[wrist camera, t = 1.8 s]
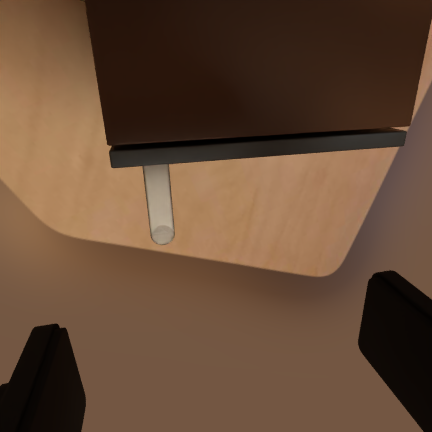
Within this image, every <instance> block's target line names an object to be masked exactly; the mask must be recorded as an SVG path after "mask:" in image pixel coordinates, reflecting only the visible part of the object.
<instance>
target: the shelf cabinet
mask: <svg viewBox="0 0 432 432" xmlns="http://www.w3.org/2000/svg"><path fill="white" fill-rule="evenodd" d="M85 7H86V13H87V19H88V26H89V32H90V38H91V45H92V51H93V57H94V64H95V70H96V76H97V83H98V89H99V95H100V102H101V108H102V114H103V121H104V127H105V133H106V140H107V145H109V146H112V145H127V144H143V143H158V142H174V141H189V140H204V139H220V138H235V137H251V136H266V135H282V134H297V133H313V132H328V131H344V130H359V129H375V128H390V127H406V126H410V125H411V120H412V115H413V110H414V105H415V100H416V95H417V90H418V84H419V79H420V74H421V69H422V64H423V59H424V54H425V49H426V44H427V39H428V34H429V29H430V24H431V19H432V0H85Z"/></svg>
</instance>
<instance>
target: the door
mask: <svg viewBox="0 0 432 432" xmlns="http://www.w3.org/2000/svg"><path fill="white" fill-rule="evenodd" d="M406 133H407V132H406V131H403V130H399V129H394V128H375V129H359V130H344V131H328V132H313V133H297V134H282V135H266V136H251V137H235V138H220V139H204V140H189V141H174V142H158V143H143V144H127V145H112V147H111V149H110V151H109V156H110V162H111V167H112V168H123V167H136V166H143V174H144V182H145V191H146V199H147V208H148V216H149V225H150V233H151V238H152V240H153V241H154V242H155V243H157V244H160V245H165V244H168V243H170V242H171V241H172V240H173V238H174V236H175V232H174V220H173V208H172V197H171V185H170V174H169V164H175V163H188V162H202V161H215V160H228V159H241V158H254V157H267V156H280V155H293V154H307V153H320V152H333V151H346V150H359V149H372V148H385V147H399V146H404V143H405V138H406Z"/></svg>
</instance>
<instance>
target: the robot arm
mask: <svg viewBox="0 0 432 432" xmlns="http://www.w3.org/2000/svg"><path fill="white" fill-rule="evenodd" d="M358 345H359V349H360V351H361V352H362V354H363V355H364V356H365V358H366V359H367V360H368V362H369V363H370V364H371V365H372V367H373V368H374V369H375V370H376V372H377V373H378V374H379V376H380V377H381V378H382V379H383V381H384V382H385V383H386V384H387V386H388V387H389V388H390V389H391V391H392V392H393V393H394V395H395V396H396V397H397V398H398V400H399V401H400V402H401V403H402V405H403V406H404V407H405V408H406V410H407V411H408V412H409V414H410V415H411V416H412V417H413V419H414V420H415V421H416V422H417V424H418V425H419V426H420V427H421V429H422V430H423V431H424V432H432V300H431V299H430V298H429V297H428V296H426V295H425V294H424V293H422V292H421V291H420V290H418V289H417V288H416V287H415V286H413V285H412V284H411V283H409V282H408V281H407V280H406V279H404V278H403V277H402V276H400V275H399V274H398V273H397V272H395V271H391V270H390V271H384V272H378V273H375V274H373V276H372V278H371V279H369V281H368V286H367V292H366V298H365V303H364V310H363V315H362V322H361V327H360V333H359V339H358ZM85 407H86V398H85V392H84V389H83V385H82V382H81V378H80V375H79V371H78V368H77V364H76V361H75V357H74V353H73V350H72V346H71V343H70V339H69V336H68V332H67V329H66V328H60V327H59V325H58V324H50V325H44V326H37V327H34V328H33V330H32V332H31V334H30V337H29V338H28V341H27V343H26V345H25V347H24V350H23V352H22V354H21V356H20V359H19V361H18V363H17V365H16V368H15V370H14V372H13V374H12V377H11V379H10V381H9V383H6V384H2V385H1V386H0V432H81V430H82V424H83V419H84V413H85Z"/></svg>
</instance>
